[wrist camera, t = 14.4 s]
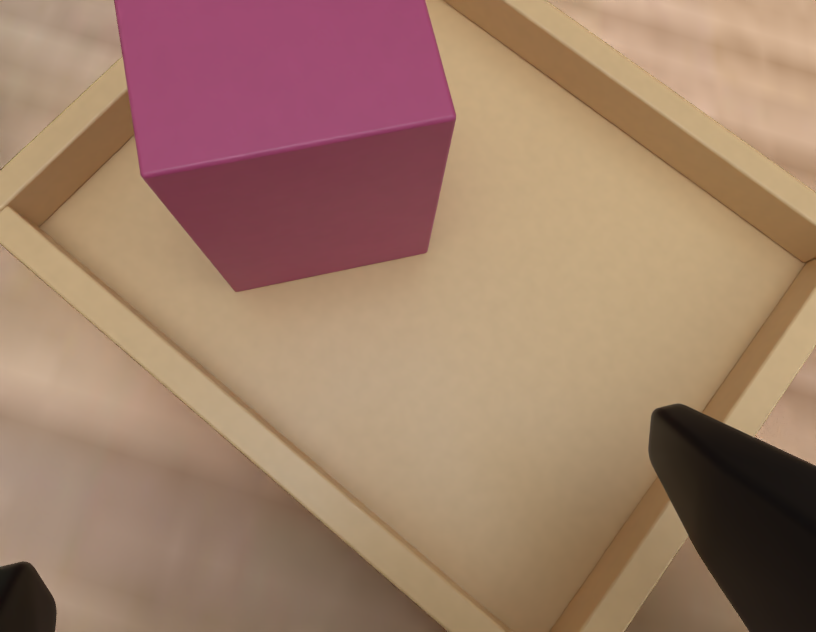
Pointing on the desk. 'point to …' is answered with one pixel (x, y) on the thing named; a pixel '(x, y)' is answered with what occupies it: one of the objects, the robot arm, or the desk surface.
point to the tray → (469, 321)
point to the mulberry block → (290, 129)
